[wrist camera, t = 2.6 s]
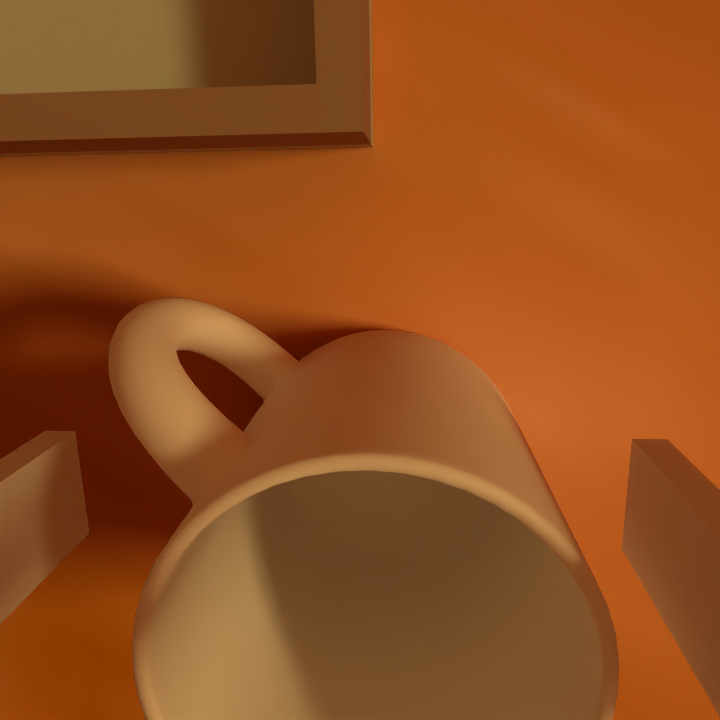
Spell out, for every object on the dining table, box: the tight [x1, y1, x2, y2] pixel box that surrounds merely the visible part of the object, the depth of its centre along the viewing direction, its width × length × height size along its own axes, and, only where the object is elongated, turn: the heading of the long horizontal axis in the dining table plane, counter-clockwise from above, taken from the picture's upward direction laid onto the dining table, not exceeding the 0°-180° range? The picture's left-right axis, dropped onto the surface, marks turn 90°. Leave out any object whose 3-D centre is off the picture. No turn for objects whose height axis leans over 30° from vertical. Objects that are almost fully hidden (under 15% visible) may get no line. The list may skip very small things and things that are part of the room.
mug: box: [109, 297, 619, 720], centre depth 15 cm, size 12×8×10 cm
